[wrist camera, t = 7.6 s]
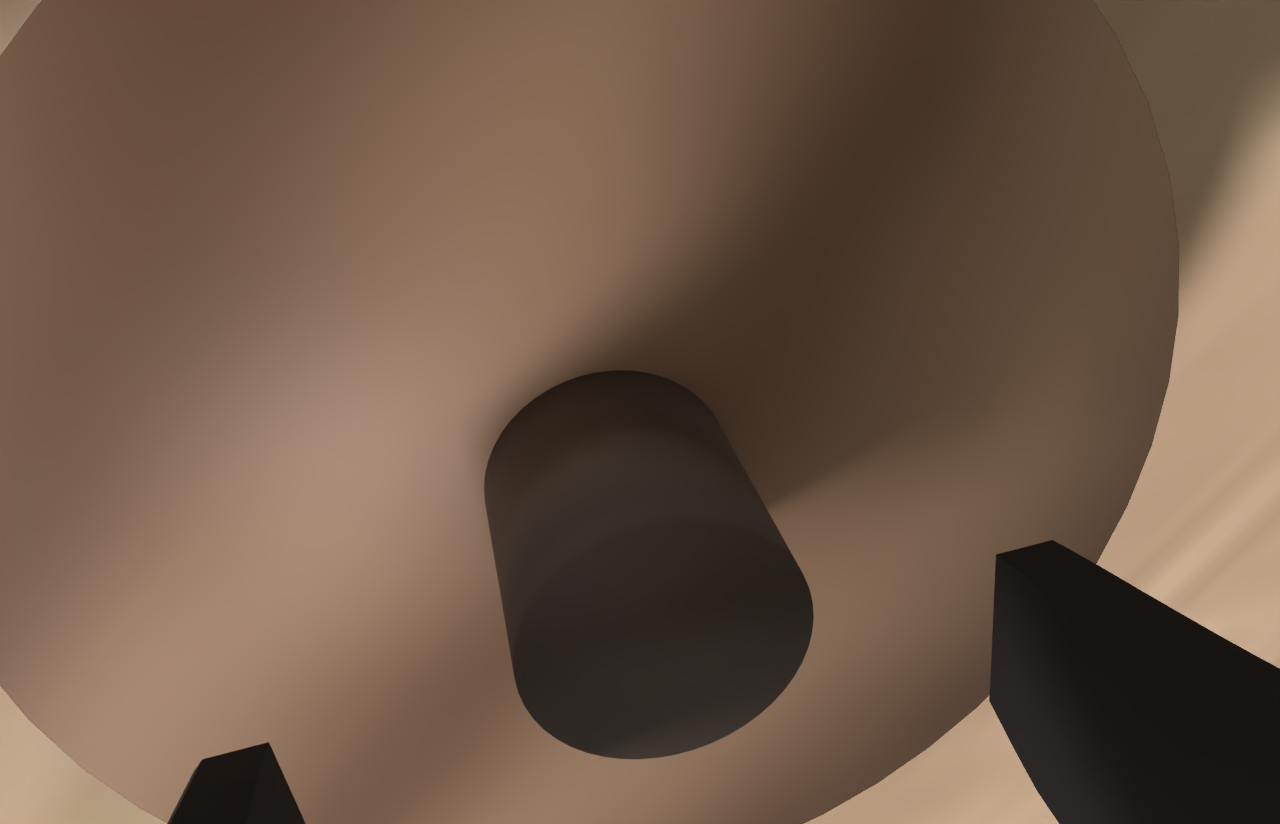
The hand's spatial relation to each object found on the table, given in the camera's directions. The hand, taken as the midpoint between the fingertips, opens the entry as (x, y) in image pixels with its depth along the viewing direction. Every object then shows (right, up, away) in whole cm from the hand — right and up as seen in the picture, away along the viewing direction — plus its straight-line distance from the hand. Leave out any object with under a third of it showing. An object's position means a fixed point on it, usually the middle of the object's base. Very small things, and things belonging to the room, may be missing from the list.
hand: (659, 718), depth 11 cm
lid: (-1, +3, +3) cm, 4 cm away
